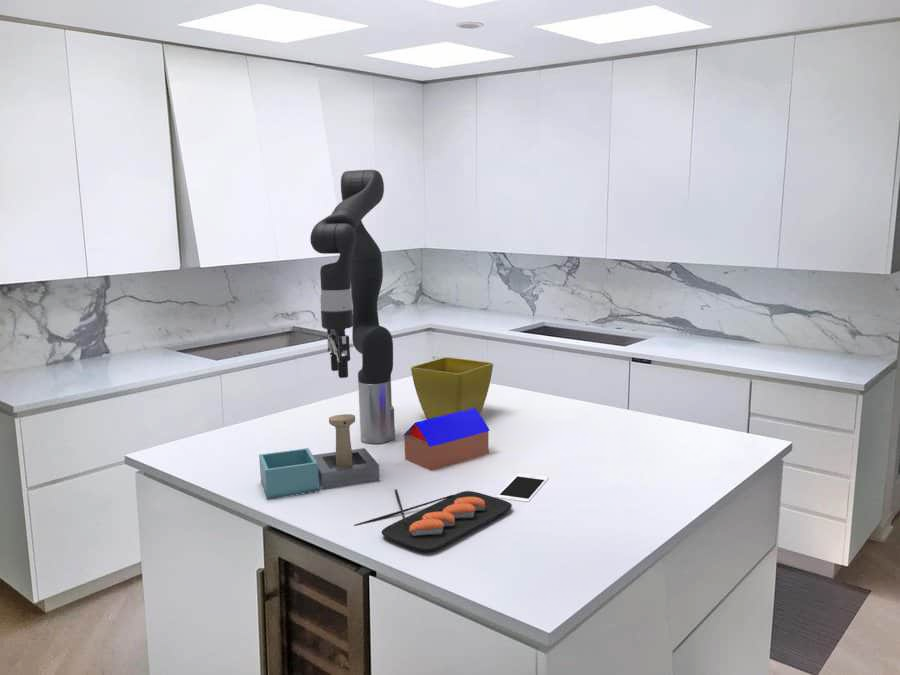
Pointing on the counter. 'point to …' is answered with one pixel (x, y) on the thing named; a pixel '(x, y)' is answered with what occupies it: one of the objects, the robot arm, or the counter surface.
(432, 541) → the sushi plate
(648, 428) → the counter surface
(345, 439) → the handle
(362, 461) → the socket block
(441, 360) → the flower pot
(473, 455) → the house
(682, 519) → the counter surface
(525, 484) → the cell phone
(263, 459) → the bin
